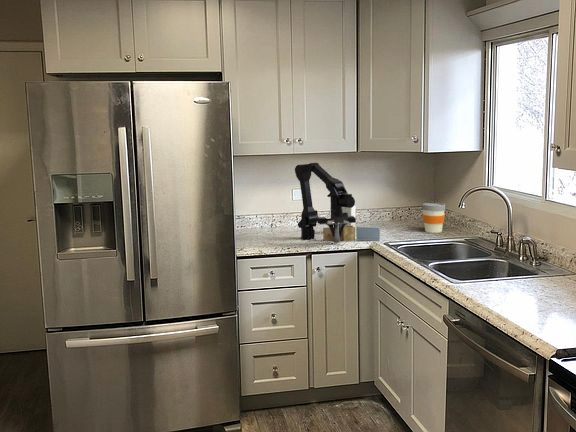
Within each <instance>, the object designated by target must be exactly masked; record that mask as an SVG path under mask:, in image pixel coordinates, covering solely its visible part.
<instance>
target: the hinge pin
mask: <svg viewBox="0 0 576 432" xmlns="http://www.w3.org/2000/svg"><path fill="white" fill-rule="evenodd" d="M332 224H333V227H334V241H333V242H334V243H340V241H341V240H340V223H335V222H332Z"/></svg>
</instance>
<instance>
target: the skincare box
mask: <svg viewBox="0 0 576 432" xmlns="http://www.w3.org/2000/svg"><path fill="white" fill-rule="evenodd" d="M356 209H357V207H356V205H354V206H353V207H352V208H347V207H342V212H343V213H348V216H354V217H355V218H356ZM350 225H352V226H354V227H355V228H356V222H355V223H350V222H348V221H347V225H345V226H350Z"/></svg>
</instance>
